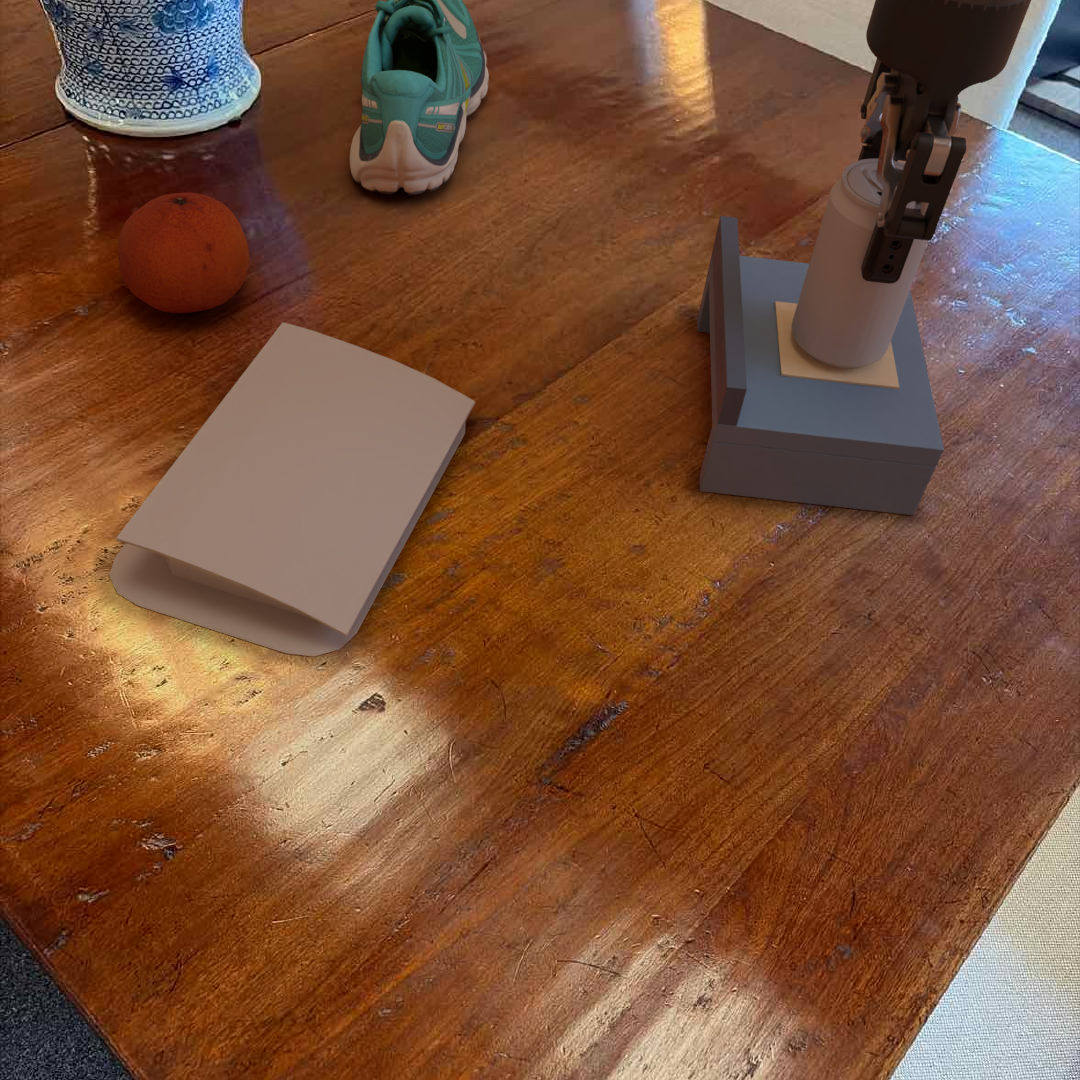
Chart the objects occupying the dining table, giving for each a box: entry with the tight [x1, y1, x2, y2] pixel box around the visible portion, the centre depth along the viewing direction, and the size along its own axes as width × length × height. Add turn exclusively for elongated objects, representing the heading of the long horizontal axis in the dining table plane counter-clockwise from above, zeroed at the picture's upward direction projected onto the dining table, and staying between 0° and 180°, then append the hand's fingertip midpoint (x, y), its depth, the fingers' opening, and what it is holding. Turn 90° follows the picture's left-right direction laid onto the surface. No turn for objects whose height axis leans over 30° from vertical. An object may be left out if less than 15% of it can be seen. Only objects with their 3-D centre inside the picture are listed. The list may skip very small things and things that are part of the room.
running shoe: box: [349, 0, 490, 196], centre depth 101 cm, size 11×29×11 cm, turn 0°
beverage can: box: [792, 159, 929, 369], centre depth 74 cm, size 6×6×12 cm
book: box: [108, 321, 476, 658], centre depth 73 cm, size 15×23×4 cm, turn 162°
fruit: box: [117, 191, 250, 314], centre depth 83 cm, size 9×9×8 cm
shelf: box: [696, 215, 945, 516], centre depth 80 cm, size 14×18×9 cm
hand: (870, 239), depth 73 cm, fingers open, 7 cm apart
